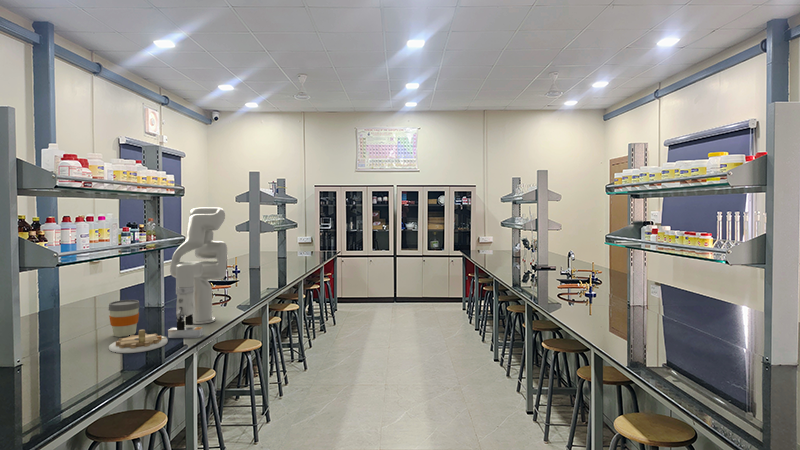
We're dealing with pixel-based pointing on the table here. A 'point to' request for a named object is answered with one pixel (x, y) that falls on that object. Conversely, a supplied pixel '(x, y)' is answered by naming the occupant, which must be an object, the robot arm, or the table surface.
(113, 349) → the base plate
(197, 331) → the white rectangular box
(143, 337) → the sprocket wheel
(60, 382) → the table surface
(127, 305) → the reusable coffee cup
